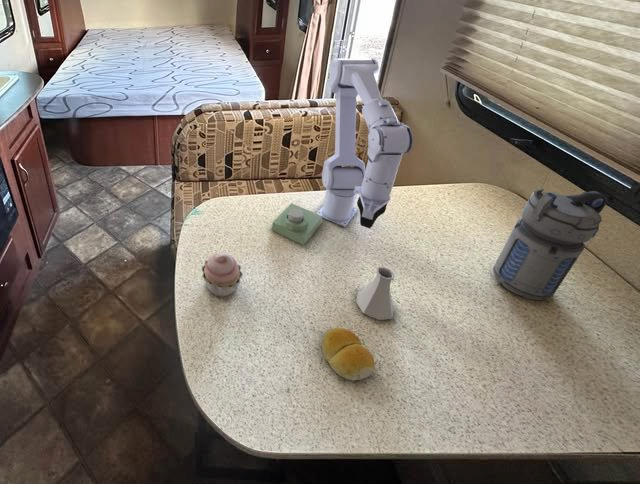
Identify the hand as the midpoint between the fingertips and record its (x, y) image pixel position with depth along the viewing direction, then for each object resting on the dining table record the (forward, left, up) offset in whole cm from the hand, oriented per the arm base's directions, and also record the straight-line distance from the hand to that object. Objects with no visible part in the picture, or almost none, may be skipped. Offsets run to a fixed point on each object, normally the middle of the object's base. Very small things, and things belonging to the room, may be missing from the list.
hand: (365, 225), depth 86 cm
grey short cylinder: (+1, -16, -6) cm, 17 cm away
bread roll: (+27, +7, -10) cm, 30 cm away
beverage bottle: (-16, +30, -10) cm, 36 cm away
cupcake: (+29, -20, -11) cm, 37 cm away
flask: (+12, +7, -11) cm, 17 cm away
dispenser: (-1, -16, -10) cm, 19 cm away
